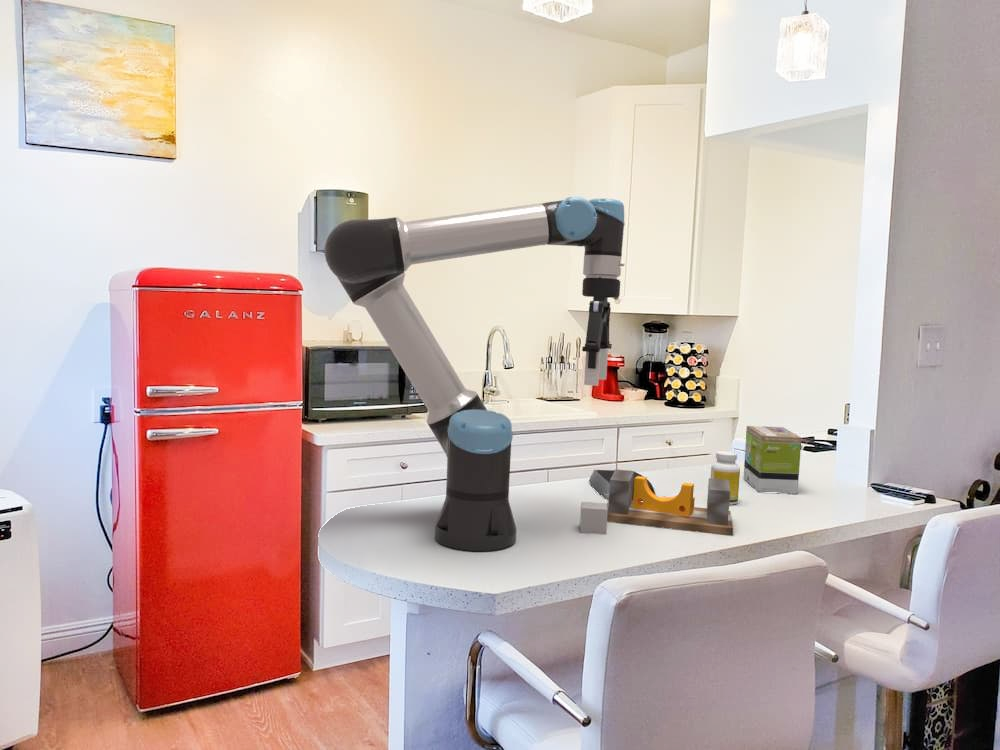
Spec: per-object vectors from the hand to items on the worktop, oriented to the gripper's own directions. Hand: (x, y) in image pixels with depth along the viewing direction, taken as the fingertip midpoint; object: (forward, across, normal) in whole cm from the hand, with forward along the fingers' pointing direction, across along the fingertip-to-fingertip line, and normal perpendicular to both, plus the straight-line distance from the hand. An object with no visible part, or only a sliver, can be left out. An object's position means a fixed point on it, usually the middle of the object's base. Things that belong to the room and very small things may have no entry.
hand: (595, 382), depth 162 cm
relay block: (+29, -7, -2) cm, 30 cm away
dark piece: (+29, +29, -4) cm, 41 cm away
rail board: (+29, +7, -16) cm, 34 cm away
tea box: (+29, +50, -40) cm, 70 cm away
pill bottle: (+29, +28, -28) cm, 49 cm away
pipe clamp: (+27, +7, -15) cm, 32 cm away
